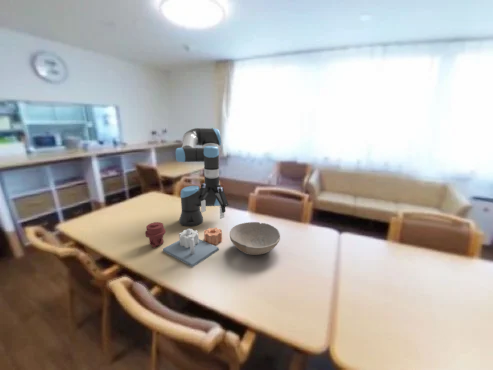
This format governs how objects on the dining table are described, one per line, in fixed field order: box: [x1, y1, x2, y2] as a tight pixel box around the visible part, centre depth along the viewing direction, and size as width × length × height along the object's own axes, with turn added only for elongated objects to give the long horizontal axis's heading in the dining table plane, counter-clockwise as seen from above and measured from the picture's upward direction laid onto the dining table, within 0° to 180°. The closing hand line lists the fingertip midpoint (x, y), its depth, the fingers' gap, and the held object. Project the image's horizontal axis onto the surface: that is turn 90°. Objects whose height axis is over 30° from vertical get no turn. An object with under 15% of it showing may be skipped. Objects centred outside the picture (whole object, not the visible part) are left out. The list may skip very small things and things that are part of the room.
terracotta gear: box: [203, 227, 223, 246], centre depth 132 cm, size 10×10×6 cm
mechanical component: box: [144, 221, 167, 249], centre depth 125 cm, size 12×10×10 cm
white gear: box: [178, 228, 200, 248], centre depth 126 cm, size 10×10×6 cm
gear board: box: [162, 228, 220, 268], centre depth 121 cm, size 18×22×10 cm
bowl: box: [229, 221, 281, 256], centre depth 123 cm, size 26×26×10 cm
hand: (212, 214), depth 128 cm, fingers open, 13 cm apart
